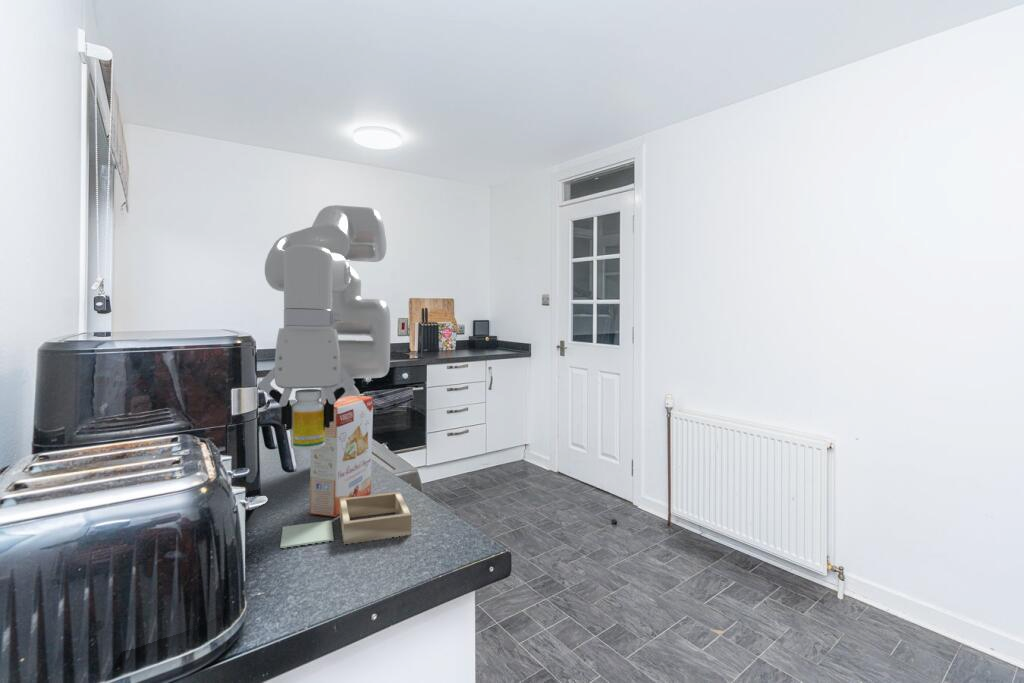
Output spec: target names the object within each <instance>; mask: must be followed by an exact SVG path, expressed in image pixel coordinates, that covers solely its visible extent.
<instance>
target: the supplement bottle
mask: <svg viewBox="0 0 1024 683" xmlns="http://www.w3.org/2000/svg"><path fill="white" fill-rule="evenodd" d="M294 398H295V400H296V402H294V403H293V404H291V429H290V448H291V449H293V450H296V451H311V450H314V449H318V448H321V447H323V446H324V444H325V405H324V403H322V402H321V389H319V388H303V389H298V390H296V391H295V396H294Z"/></svg>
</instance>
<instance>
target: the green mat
mask: <svg viewBox="0 0 1024 683" xmlns="http://www.w3.org/2000/svg"><path fill="white" fill-rule="evenodd" d="M329 541H332V542H334V531H333V521H332V520H324V521H316V522H309V523H307V522H306V523H299V524H294V525H293V524H291V525H287V526H286V525H285V526H282V532H281V539H280V547H279V549H280V548H284V549H288V548H287V547H291V548H293V547H292V546H298V547H301V546H300V545H305V546H309V545H308V544H312V545H316V544H315V543H318V544H323V543H322V542H325V543H330V542H329Z"/></svg>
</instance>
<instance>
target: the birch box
mask: <svg viewBox="0 0 1024 683" xmlns="http://www.w3.org/2000/svg"><path fill="white" fill-rule="evenodd" d="M410 511H411V510H409V507H408V505H407V503H406V501H405V500H404V498H403V496H402V494H401V492H400V491H395V492H386V493H378V494H377V493H375V494H368V495H366V496H359V497H350V498H342V499H340V514H339V522H340V528H341V534H342V541H343V542H344V543H343V546H346V545H345V544H348V545H352V544H351V543H354V544H360V543H359V542H361V543H365V542H366V541H367V542H373V541H372V540H374V541H380V539H381V540H386V538H387V539H393V538H392V537H394V538H400V537H405V536H406V535H407V536H412V513H411V512H410ZM390 513H394V514H391V515H384V516H376V517H369V518H368V517H367V516H375V515H382V514H390ZM359 517H367V518H361V519H353V520H350V519H352V518H359ZM399 536H400V537H399Z"/></svg>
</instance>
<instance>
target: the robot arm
mask: <svg viewBox="0 0 1024 683" xmlns="http://www.w3.org/2000/svg"><path fill="white" fill-rule="evenodd" d="M386 253H387V236H386V231H385V226H384V221H383V219H382V216H381V215H380V213H379V211H377V210H376V209H374V208H372V207H368V206H354V205H353V206H351V205H340V204H339V205H338V204H337V205H327V206H325V207H323V208H322V209H321V210H320V211H319V212H318V214H317V215H316V218H315V220H314V221H313V223H312V225H311V226H310V227H306V228H302V229H300V230H296V231H294V232H290V233H288V234H285V235H282V236H281V237H279V238H278V239H277V240H275V242H274V244H273V245H272V246H271V248H270V250H269V251H268V254H267V257H266V259H265V263H264V277H265V280H266V281H267V283H268V285H269V286H270V287H271V288H272V289H274V290H276V291H278V292H283V327H282V328H281V327H280V328H278V333H277V337H276V338H277V339H276V345H275V355H274V356H275V357H274V367H273V368H272V369H271V370H270V371H269V372H268V373H267V374H266V375H265V376H264V377H263V379H262V380H261V381H259V383H258V384H257V386H258V388H259V389H260V390H262V392H264V393H265V394H267V395H268V396H269V397H270V398H272V399H273V400H274V401H275V402H277V403H278V404H279V406H281V407H280V408H281V409H280V410H281V411H280V412H281V414H280V415H281V416H280V417H281V418H280V421H281V422H280V423H281V425H285V431H290V430H291V406H292V404H291V401H290V397H291V394H292V392H293V390H294V389H320V390H321V398H320V402H322V403H324V402H326V403H325V427H326V428H330V422H334V403H335V402H336V401H337V400H338V399H340V398H343V397H347V396H361V393H360V391H359V389H358V388H357V387H356V386H355V384H356V381H355V380H354V379H378V378H379V379H380V378H383V377H385V376H387V375H388V374H389V371H390V366H391V365H390V364H391V312H390V307H389V305H388V303H387V302H386V301H384V300H383V299H377V298H362V297H361V296H362V295H361V294H362V293H361V292H362V281H361V278H360V276H359V275H358V273H357V272H356V271H355V270H354V268H353V267H352V266H351V265H350V262H367V263H377V262H378V263H379V262H380V261H382V260H384V258H385V256H386ZM348 261H349V262H348ZM339 336H353V337H355V336H359V337H360V336H362V337H363V336H364V337H365V336H366V337H370V338H371V339H372V340H356V339H355V340H354V339H348V340H347V339H339ZM273 380H274V384H275V385H276V386H277V387H279V389H280V388H281V389H283V391H282V393H281V392H280V391H279V390H278V389H276V388H275V387H274V386H273V385H271V383H272V381H273Z"/></svg>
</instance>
